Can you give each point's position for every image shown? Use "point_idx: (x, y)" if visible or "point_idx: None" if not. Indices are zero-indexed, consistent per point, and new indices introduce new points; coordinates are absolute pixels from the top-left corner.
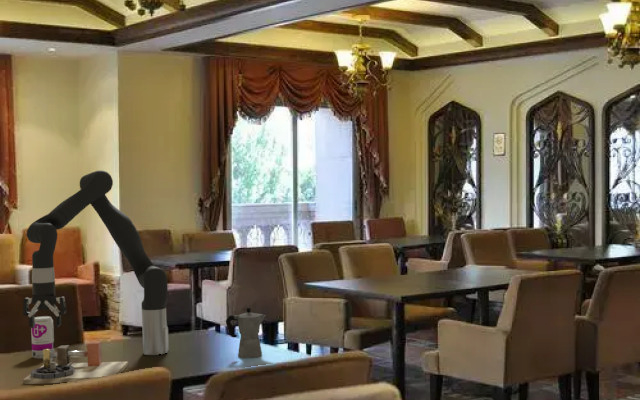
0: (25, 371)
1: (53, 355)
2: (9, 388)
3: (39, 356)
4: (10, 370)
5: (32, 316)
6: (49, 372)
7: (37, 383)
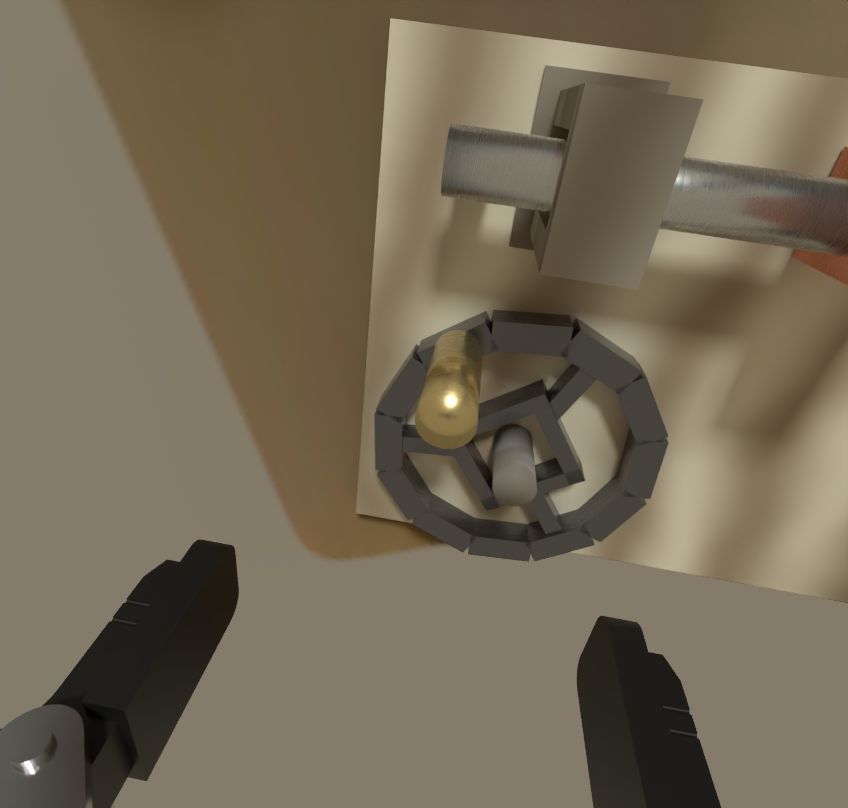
0: (263, 133)
1: (493, 203)
2: (319, 551)
3: None
4: (119, 48)
5: (121, 781)
6: (496, 505)
7: None
